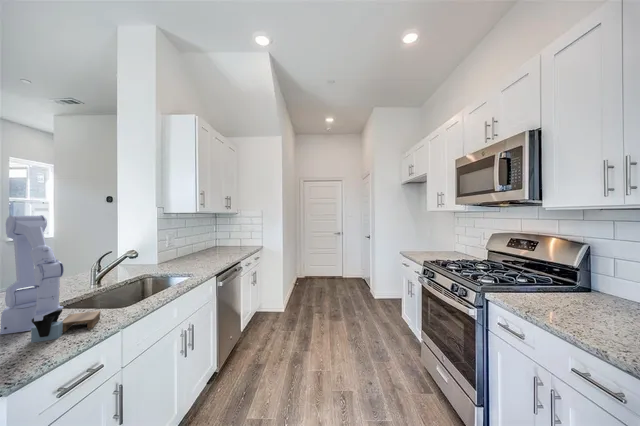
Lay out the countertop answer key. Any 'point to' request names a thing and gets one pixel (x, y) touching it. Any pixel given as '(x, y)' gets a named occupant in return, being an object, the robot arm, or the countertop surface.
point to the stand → (81, 319)
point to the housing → (54, 333)
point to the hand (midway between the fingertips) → (47, 333)
